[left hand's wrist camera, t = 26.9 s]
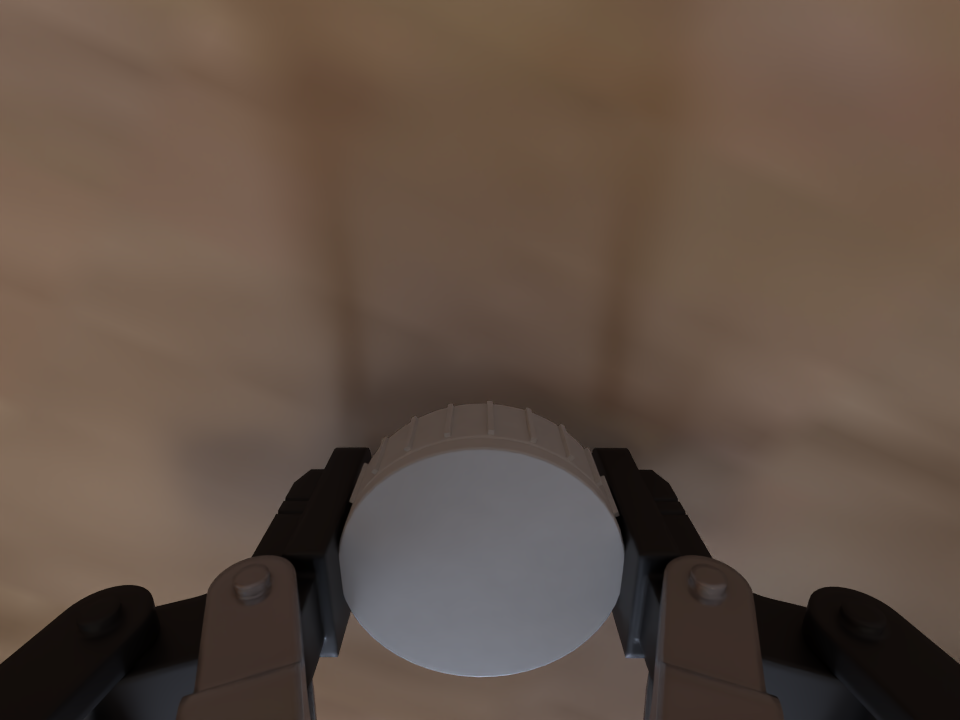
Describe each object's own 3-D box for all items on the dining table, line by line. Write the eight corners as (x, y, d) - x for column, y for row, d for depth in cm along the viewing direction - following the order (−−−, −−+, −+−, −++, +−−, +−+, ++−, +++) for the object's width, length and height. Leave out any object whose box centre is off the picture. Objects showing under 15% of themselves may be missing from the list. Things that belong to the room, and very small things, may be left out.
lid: (309, 450, 10) (278, 503, 9) (563, 361, 10) (579, 400, 8) (415, 636, 12) (405, 707, 11) (637, 570, 11) (662, 637, 10)
